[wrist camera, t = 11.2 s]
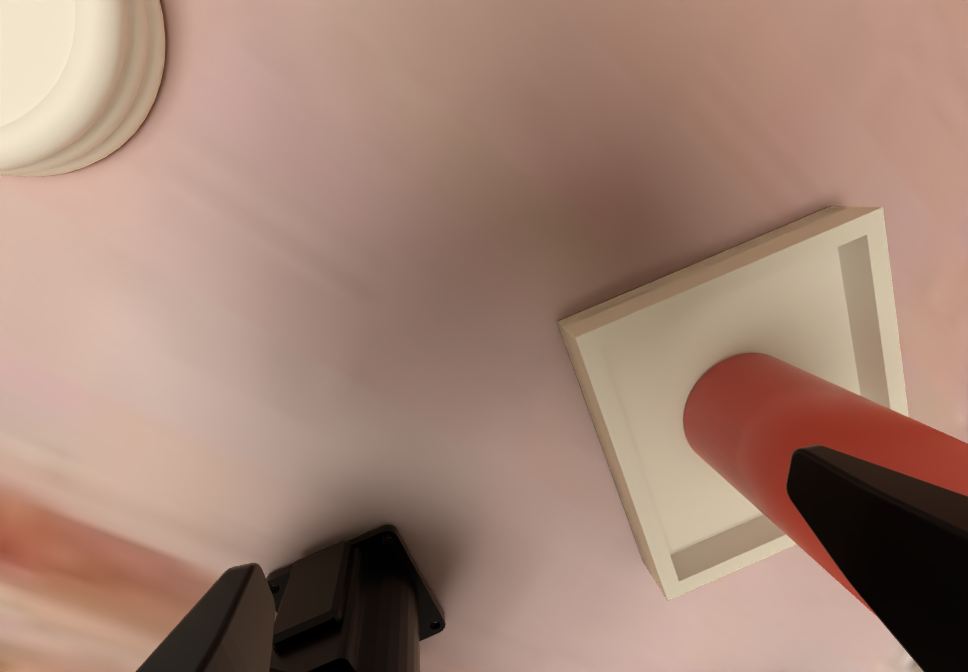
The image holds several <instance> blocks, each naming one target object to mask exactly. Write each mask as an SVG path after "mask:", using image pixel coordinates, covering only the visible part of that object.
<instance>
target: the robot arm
mask: <svg viewBox="0 0 968 672" xmlns="http://www.w3.org/2000/svg"><path fill="white" fill-rule="evenodd" d="M786 490H787V494H788V496H789V498H790V500H791V502H792V503H793V504H794V506H795V507H796V509H797V510H798V512H799V513H800V514H801V516H802V517H803V519H804V520H805V521H806V523H807V524H808V526H809V527H810V529H811V530H812V531H813V533H814V534H815V536H816V537H817V538H818V540H819V541H820V543H821V544H822V546H823V547H824V548H825V550H826V551H827V553H828V554H829V555H830V557H831V558H832V560H833V561H834V563H835V564H836V565H837V567H838V568H839V569H840V571H841V572H842V574H843V575H844V576H845V578H846V579H847V580H848V582H849V583H850V584H851V585H852V587H853V588H854V589H855V590H856V592H857V593H858V594H859V595H860V596H861V598H862V599H863V600H864V601H865V602H866V604H867V605H868V606H869V607H870V608H871V610H872V611H873V612H874V613H875V614H876V615H877V617H878V618H879V619H880V620H881V621H882V623H883V624H884V625H885V626H886V627H887V629H888V630H889V631H890V632H891V633H892V635H893V636H894V637H895V638H896V639H897V640H898V642H899V643H900V644H901V645H902V646H903V648H904V649H905V650H906V651H907V652H908V654H909V655H910V656H911V657H912V658H913V660H914V661H915V662H916V663H917V664H918V665H919V667H920V668H921V669H922V670H923V671H924V672H968V496H966V495H963V494H960V493H957V492H954V491H951V490H948V489H946V488H943V487H940V486H937V485H934V484H931V483H928V482H926V481H923V480H920V479H917V478H914V477H911V476H908V475H906V474H903V473H900V472H897V471H894V470H891V469H888V468H886V467H883V466H880V465H877V464H874V463H871V462H868V461H865V460H863V459H860V458H857V457H854V456H851V455H848V454H845V453H843V452H840V451H837V450H834V449H831V448H828V447H825V446H822V445H812V446H807V447H802V448H798V449H796V450H795V451H794V452H793V453H792V456H791V461H790V466H789V471H788V477H787V482H786ZM386 535H389V536H391V538H390V539H385V538H383V537H384V536H386ZM272 584H276V585H278V587H275V586H273V585H272ZM275 610H276V612H277V616H276V619H275ZM434 621H437V622H436V623H432V622H434ZM444 628H445V616H444V613H443V612H442V610H441V608H440V606H439V604H438V603H437V601H436V599H435V597H434V595H433V593H432V592H431V590H430V588H429V586H428V584H427V583H426V581H425V579H424V577H423V575H422V573H421V572H420V570H419V568H418V566H417V564H416V563H415V561H414V559H413V557H412V555H411V553H410V552H409V550H408V548H407V546H406V544H405V542H404V541H403V539H402V537H401V535H400V533H399V532H398V530H397V529H396V528H395V527H394V526H392V525H385V526H382V527H380V528H377V529H375V530H373V531H370V532H368V533H366V534H363V535H361V536H359V537H356V538H354V539H352V540H349V541H343V542H341V543H338V544H336V545H334V546H331V547H329V548H327V549H324V550H322V551H320V552H317V553H315V554H313V555H310V556H308V557H306V558H303V559H301V560H299V561H296V562H295V563H294V564H293V565H291V566H289V567H286V568H284V569H282V570H280V571H277V572H275V573H273V574H271V575H269V576H268V577H267V578H265V575H264V573H263V570H262V568H261V567H260V565H259V564H257V563H249V564H245V565H240V566H235V567H232V568H229V569H228V570H227V571H225V572H224V573H223V575H222V576H221V577H220V578H219V579H218V580H217V581H216V582H215V584H214V585H213V586H212V587H211V588H210V589H209V590H208V591H207V592H206V594H205V595H204V596H203V597H202V598H201V599H200V600H199V601H198V603H197V604H196V605H195V606H194V607H193V608H192V609H191V610H190V611H189V613H188V614H187V615H186V616H185V617H184V618H183V619H182V620H181V622H180V623H179V624H178V625H177V626H176V627H175V628H174V629H173V630H172V632H171V633H170V634H169V635H168V636H167V637H166V638H165V639H164V641H163V642H162V643H161V644H160V645H159V646H158V647H157V648H156V649H155V651H154V652H153V653H152V654H151V655H150V656H149V657H148V658H147V660H146V661H145V662H144V663H143V664H142V665H141V666H140V667H139V668H138V670H137V671H136V672H420V646H419V641H421V640H423V639H426V638H428V637H430V636H433V635H435V634H437V633H439V632H441V631H442V630H443V629H444Z"/></svg>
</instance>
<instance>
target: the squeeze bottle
mask: <svg viewBox="0 0 968 672" xmlns="http://www.w3.org/2000/svg"><path fill="white" fill-rule="evenodd" d="M684 431H685V435H686V438H687V441H688V443H689V445H690V447H691V448H692V449H693V450H694V452H695V453H696V454H697V455H699V456H700V457H701V458H702V459H703V460H704V461H705V462H706V463H707V464H708V465H710V466H711V467H712V468H713V469H714V470H715V471H716V472H717V473H718V474H720V475H721V476H722V477H723V478H724V479H725V480H726V481H727V482H728V483H730V484H731V485H732V486H733V487H734V488H735V489H736V490H737V491H738V492H740V493H741V494H742V495H743V496H744V497H745V498H746V499H747V500H748V501H750V502H751V503H752V504H753V505H754V506H755V507H756V508H757V509H758V510H760V511H761V512H762V513H763V514H764V515H765V516H766V517H767V518H768V519H770V520H771V521H772V522H773V523H774V524H775V525H776V526H777V527H778V528H780V529H781V530H782V531H783V532H784V533H785V534H786V535H787V536H788V537H789V538H791V539H792V540H793V541H794V542H795V543H796V544H797V545H798V546H799V547H801V548H802V549H803V550H804V551H805V552H806V553H807V554H808V555H809V556H811V557H812V558H813V559H814V560H815V561H816V562H817V563H818V564H819V565H821V566H822V567H823V568H824V569H825V570H826V571H827V572H828V573H829V574H831V575H832V576H833V577H834V578H835V579H836V580H837V581H838V582H839V583H841V584H842V585H843V586H844V587H845V588H846V589H847V590H848V591H849V592H851V593H852V594H853V595H854V596H855V597H856V598H857V599H858V600H859V601H860V602H862V603H863V604H864V605H865V606H866V607H867V608H868V609H869V610H870V611H872V610H871V608H870V607H869V606H868V605H867V604H866V602H865V601H864V600H863V599H862V598H861V596H860V595H859V594H858V593H857V592H856V590H855V589H854V588H853V587H852V585H851V584H850V583H849V582H848V580H847V579H846V578H845V576H844V575H843V574H842V572H841V571H840V569H839V568H838V567H837V565H836V564H835V563H834V561H833V560H832V558H831V557H830V555H829V554H828V553H827V551H826V550H825V548H824V547H823V546H822V544H821V543H820V541H819V540H818V538H817V537H816V536H815V534H814V533H813V531H812V530H811V529H810V527H809V526H808V524H807V523H806V521H805V520H804V519H803V517H802V516H801V514H800V513H799V512H798V510H797V509H796V507H795V506H794V504H793V503H792V502H791V500H790V498H789V496H788V494H787V490H786V482H787V477H788V471H789V466H790V461H791V456H792V453H793V452H794V451H795V450H796V449H798V448H802V447H807V446H812V445H822V446H825V447H828V448H831V449H834V450H837V451H840V452H843V453H845V454H848V455H851V456H854V457H857V458H860V459H863V460H865V461H868V462H871V463H874V464H877V465H880V466H883V467H886V468H888V469H891V470H894V471H897V472H900V473H903V474H906V475H908V476H911V477H914V478H917V479H920V480H923V481H926V482H928V483H931V484H934V485H937V486H940V487H943V488H946V489H948V490H951V491H954V492H957V493H960V494H963V495H966V496H968V444H967V443H965V442H963V441H961V440H958V439H956V438H954V437H952V436H949V435H947V434H945V433H943V432H940V431H938V430H936V429H934V428H932V427H929V426H927V425H925V424H923V423H920V422H918V421H916V420H914V419H911V418H909V417H907V416H905V415H902V414H900V413H898V412H896V411H894V410H891V409H889V408H887V407H885V406H882V405H880V404H878V403H876V402H873V401H871V400H869V399H867V398H864V397H862V396H860V395H858V394H855V393H853V392H851V391H849V390H847V389H844V388H842V387H840V386H838V385H835V384H833V383H831V382H829V381H826V380H824V379H822V378H820V377H817V376H815V375H813V374H811V373H809V372H806V371H804V370H802V369H800V368H797V367H795V366H793V365H791V364H788V363H786V362H784V361H782V360H779V359H777V358H775V357H773V356H770V355H767V354H763V353H743V354H739V355H735V356H732V357H730V358H728V359H725V360H723V361H722V362H720V363H718V364H717V365H715V366H714V367H713V368H711V369H710V370H709V371H708V372H707V373H706V374H705V375H704V376H703V377H702V378H701V379H700V380H699V382H698V383H697V384H696V386H695V387H694V389H693V390H692V392H691V394H690V396H689V398H688V401H687V404H686V408H685V412H684ZM872 612H873V611H872ZM873 613H874V612H873ZM874 614H875V613H874ZM875 615H876V614H875ZM876 616H877V615H876Z"/></svg>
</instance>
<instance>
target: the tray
mask: <svg viewBox="0 0 968 672" xmlns="http://www.w3.org/2000/svg"><path fill="white" fill-rule="evenodd" d="M557 323H558V326H559V329H560V331H561V334H562V337H563V340H564V342H565V345H566V348H567V351H568V354H569V356H570V359H571V362H572V365H573V368H574V370H575V373H576V376H577V379H578V381H579V384H580V387H581V390H582V393H583V395H584V398H585V401H586V404H587V406H588V409H589V412H590V415H591V418H592V420H593V423H594V426H595V429H596V432H597V434H598V437H599V440H600V443H601V445H602V448H603V451H604V454H605V457H606V459H607V462H608V465H609V468H610V471H611V473H612V476H613V479H614V482H615V484H616V487H617V490H618V493H619V496H620V498H621V501H622V504H623V507H624V509H625V512H626V515H627V518H628V521H629V523H630V526H631V529H632V532H633V535H634V537H635V540H636V543H637V546H638V548H639V551H640V554H641V557H642V560H643V562H644V564H645V566H646V567H647V569H648V570H649V572H650V574H651V575H652V577H653V578H654V580H655V582H656V583H657V585H658V586H659V588H660V589H661V591H662V593H663V594H664V596H665V597H666V599H667V601H668V600H671V599H673V598H675V597H678V596H680V595H682V594H684V593H687V592H689V591H691V590H693V589H696V588H698V587H700V586H703V585H705V584H707V583H709V582H712V581H714V580H716V579H718V578H721V577H723V576H725V575H728V574H730V573H732V572H734V571H737V570H739V569H741V568H744V567H746V566H748V565H750V564H753V563H755V562H757V561H759V560H762V559H764V558H766V557H769V556H771V555H773V554H775V553H778V552H780V551H782V550H784V549H787V548H789V547H791V546H794V545H796V543H795V542H794V541H793V540H792V539H791V538H789V537H788V536H787V535H786V534H785V533H784V532H783V531H782V530H781V529H780V528H778V527H777V526H776V525H775V524H774V523H773V522H772V521H771V520H770V519H768V518H767V517H766V516H765V515H764V514H763V513H762V512H761V511H760V510H758V509H757V508H756V507H755V506H754V505H753V504H752V503H751V502H750V501H748V500H747V499H746V498H745V497H744V496H743V495H742V494H741V493H740V492H738V491H737V490H736V489H735V488H734V487H733V486H732V485H731V484H730V483H728V482H727V481H726V480H725V479H724V478H723V477H722V476H721V475H720V474H718V473H717V472H716V471H715V470H714V469H713V468H712V467H711V466H710V465H708V464H707V463H706V462H705V461H704V460H703V459H702V458H701V457H700V456H699V455H697V454H696V453H695V452H694V450H693V449H692V448H691V447H690V445H689V443H688V441H687V438H686V435H685V431H684V412H685V408H686V404H687V401H688V398H689V396H690V394H691V392H692V390H693V389H694V387H695V386H696V384H697V383H698V382H699V380H700V379H701V378H702V377H703V376H704V375H705V374H706V373H707V372H708V371H709V370H710V369H711V368H713V367H714V366H715V365H717V364H718V363H720V362H722V361H723V360H725V359H728V358H730V357H732V356H735V355H739V354H743V353H763V354H767V355H770V356H773V357H775V358H777V359H779V360H782V361H784V362H786V363H788V364H791V365H793V366H795V367H797V368H800V369H802V370H804V371H806V372H809V373H811V374H813V375H815V376H817V377H820V378H822V379H824V380H826V381H829V382H831V383H833V384H835V385H838V386H840V387H842V388H844V389H847V390H849V391H851V392H853V393H855V394H858V395H860V396H862V397H864V398H867V399H869V400H871V401H873V402H876V403H878V404H880V405H882V406H885V407H887V408H889V409H891V410H894V411H896V412H898V413H900V414H902V415H905V416H907V417H909V416H908V407H907V399H906V391H905V383H904V375H903V367H902V359H901V351H900V342H899V334H898V326H897V318H896V310H895V302H894V294H893V285H892V277H891V269H890V261H889V253H888V245H887V237H886V229H885V220H884V212H883V207H838V206H830V207H827V208H825V209H823V210H820V211H818V212H816V213H813V214H811V215H809V216H806V217H804V218H801V219H799V220H797V221H794V222H792V223H790V224H787V225H785V226H783V227H780V228H778V229H775V230H773V231H771V232H768V233H766V234H764V235H761V236H759V237H757V238H754V239H752V240H749V241H747V242H745V243H742V244H740V245H738V246H735V247H733V248H731V249H728V250H726V251H724V252H721V253H719V254H716V255H714V256H712V257H709V258H707V259H705V260H702V261H700V262H698V263H695V264H693V265H690V266H688V267H686V268H683V269H681V270H679V271H676V272H674V273H672V274H669V275H667V276H664V277H662V278H660V279H657V280H655V281H653V282H650V283H648V284H646V285H643V286H641V287H638V288H636V289H634V290H631V291H629V292H627V293H624V294H622V295H620V296H617V297H615V298H612V299H610V300H608V301H605V302H603V303H601V304H598V305H596V306H594V307H591V308H589V309H586V310H584V311H582V312H579V313H577V314H575V315H572V316H570V317H568V318H565V319H563V320H560V321H558V322H557Z"/></svg>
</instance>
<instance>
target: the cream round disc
mask: <svg viewBox="0 0 968 672" xmlns="http://www.w3.org/2000/svg"><path fill="white" fill-rule="evenodd" d="M164 63H165V30H164V20H163V14H162V9H161V5H160V0H0V175H11V176H21V177H40V176H51V175H58V174H64V173H68V172H71V171H74V170H78V169H81V168H84V167H86V166H88V165H90V164H93V163H95V162H97V161H99V160H101V159H103V158H105V157H107V156H108V155H109V154H111V153H112V152H114V151H115V150H117V149H118V148H120V147H121V146H122V145H123V144H124V143H125V142H126V141H127V140H128V139H129V138H130V137H131V136H132V135H134V134H135V132H136V131H137V130H138V128H139V127H140V125H141V124H142V123H143V121H144V120H145V119H146V117H147V115H148V113H149V111H150V109H151V107H152V105H153V103H154V101H155V98H156V95H157V92H158V90H159V87H160V84H161V79H162V74H163V69H164Z"/></svg>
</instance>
